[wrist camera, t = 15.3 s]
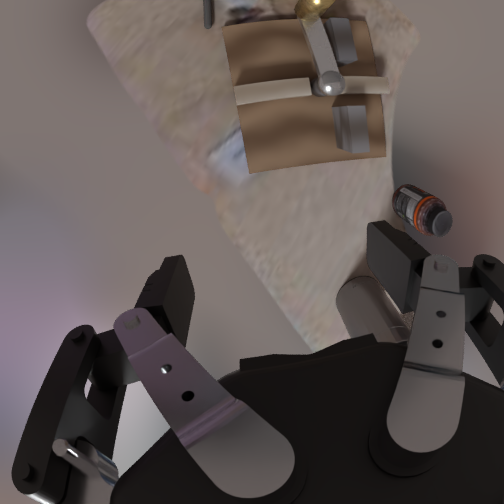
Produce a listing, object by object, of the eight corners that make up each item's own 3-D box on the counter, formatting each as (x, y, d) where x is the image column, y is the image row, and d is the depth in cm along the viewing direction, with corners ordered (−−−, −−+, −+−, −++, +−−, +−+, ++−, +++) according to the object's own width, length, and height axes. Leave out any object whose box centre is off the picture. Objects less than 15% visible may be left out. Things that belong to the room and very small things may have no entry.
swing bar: (344, 93, 29) (369, 89, 23) (321, 98, 29) (341, 93, 23) (313, 3, 23) (330, -19, 17) (289, 5, 23) (301, -18, 17)
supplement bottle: (423, 192, 42) (463, 214, 32) (408, 221, 44) (445, 249, 34) (400, 177, 40) (440, 197, 30) (385, 208, 43) (421, 235, 33)
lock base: (381, 155, 39) (406, 164, 32) (249, 171, 40) (251, 183, 33) (361, 23, 29) (384, 10, 22) (222, 30, 30) (218, 12, 23)
